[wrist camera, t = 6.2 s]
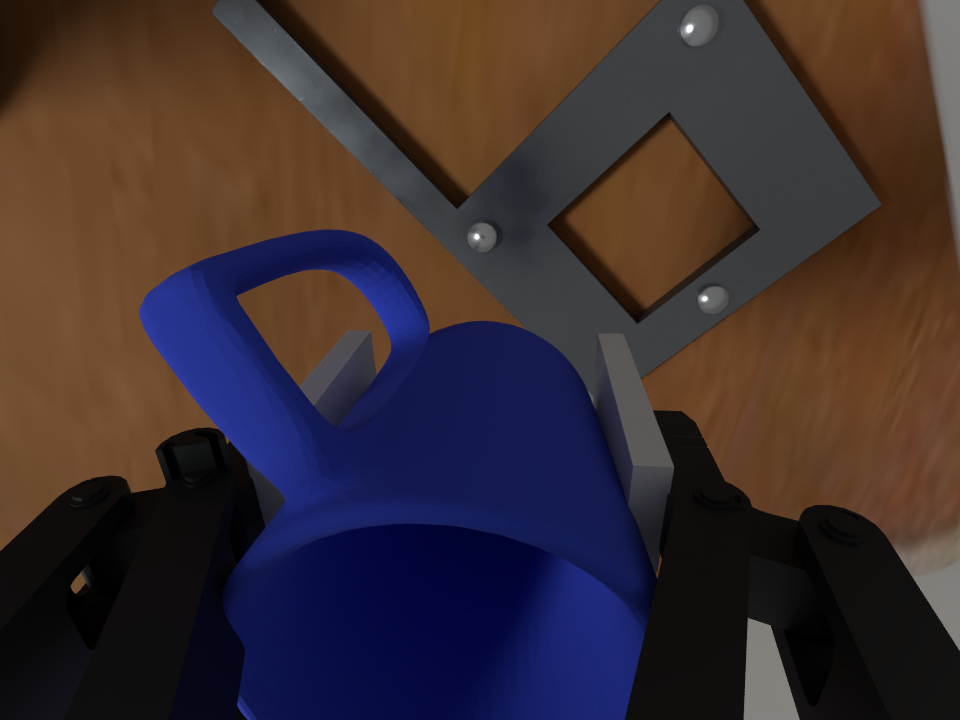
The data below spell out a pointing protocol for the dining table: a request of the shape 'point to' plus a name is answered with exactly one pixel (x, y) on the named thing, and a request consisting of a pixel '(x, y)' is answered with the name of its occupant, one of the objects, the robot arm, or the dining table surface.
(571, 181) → the gray cutout board
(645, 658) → the robot arm
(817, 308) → the dining table surface
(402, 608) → the mug
